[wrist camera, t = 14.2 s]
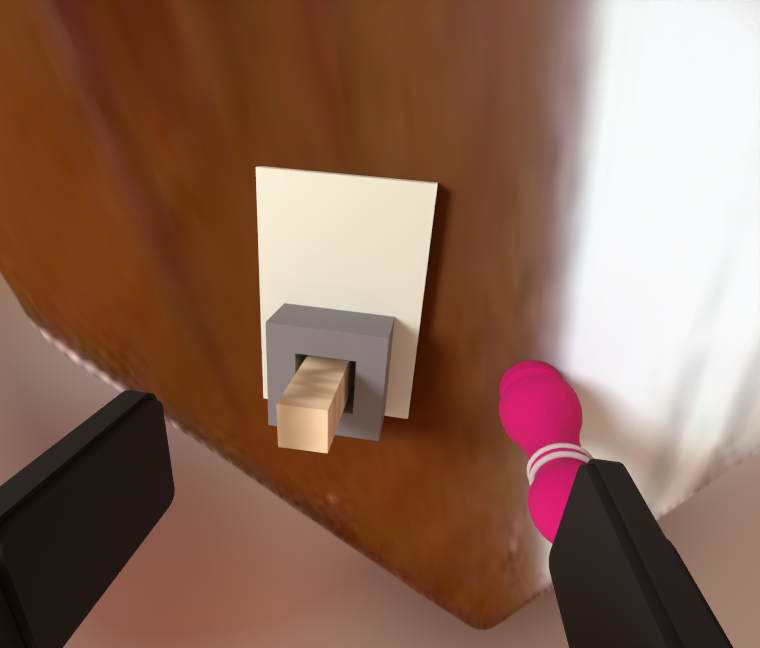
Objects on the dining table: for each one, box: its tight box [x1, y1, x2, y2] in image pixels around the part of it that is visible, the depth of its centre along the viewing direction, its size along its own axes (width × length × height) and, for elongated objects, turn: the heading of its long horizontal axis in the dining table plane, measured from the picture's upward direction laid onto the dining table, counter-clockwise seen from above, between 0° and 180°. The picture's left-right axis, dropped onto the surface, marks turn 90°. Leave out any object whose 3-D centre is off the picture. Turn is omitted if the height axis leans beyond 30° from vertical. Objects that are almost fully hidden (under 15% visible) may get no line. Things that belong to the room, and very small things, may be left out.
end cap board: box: [256, 166, 438, 441], centre depth 40 cm, size 16×24×6 cm, turn 176°
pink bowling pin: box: [499, 361, 593, 544], centre depth 35 cm, size 7×7×20 cm
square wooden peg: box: [276, 355, 356, 453], centre depth 38 cm, size 4×4×12 cm
